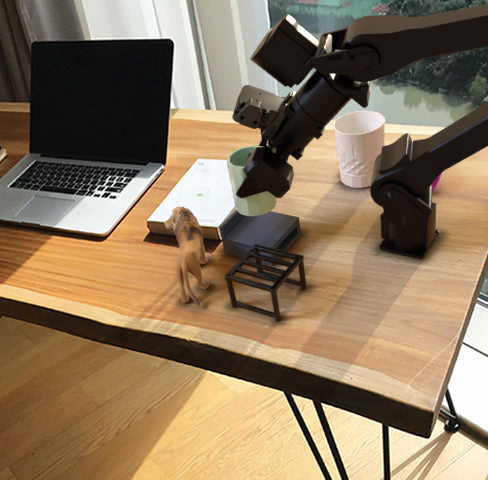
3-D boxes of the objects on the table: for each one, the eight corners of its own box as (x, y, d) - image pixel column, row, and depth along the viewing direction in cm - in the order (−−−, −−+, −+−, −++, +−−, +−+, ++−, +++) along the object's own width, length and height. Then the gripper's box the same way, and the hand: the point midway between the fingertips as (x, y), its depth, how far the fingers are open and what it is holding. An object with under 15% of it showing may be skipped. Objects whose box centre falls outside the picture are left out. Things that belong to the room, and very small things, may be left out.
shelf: (301, 233, 104) (297, 205, 101) (272, 265, 99) (267, 238, 96) (254, 222, 109) (249, 196, 106) (224, 253, 104) (218, 226, 101)
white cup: (387, 188, 108) (385, 131, 102) (336, 192, 110) (332, 136, 104) (385, 163, 114) (384, 107, 108) (337, 167, 116) (333, 113, 110)
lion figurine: (173, 254, 107) (159, 205, 101) (206, 246, 106) (194, 197, 101) (182, 313, 95) (168, 262, 90) (219, 304, 95) (207, 253, 89)
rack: (307, 286, 94) (304, 255, 91) (279, 322, 90) (273, 290, 86) (260, 273, 98) (254, 243, 95) (230, 306, 94) (223, 276, 91)
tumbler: (284, 197, 99) (277, 148, 94) (263, 219, 96) (254, 170, 91) (250, 190, 103) (241, 143, 98) (228, 212, 100) (218, 164, 95)
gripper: (276, 39, 92) (213, 119, 103) (248, 101, 79) (179, 186, 90) (339, 89, 94) (271, 163, 105) (322, 158, 81) (247, 234, 92)
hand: (243, 183), depth 98 cm, fingers closed on tumbler, 6 cm apart
